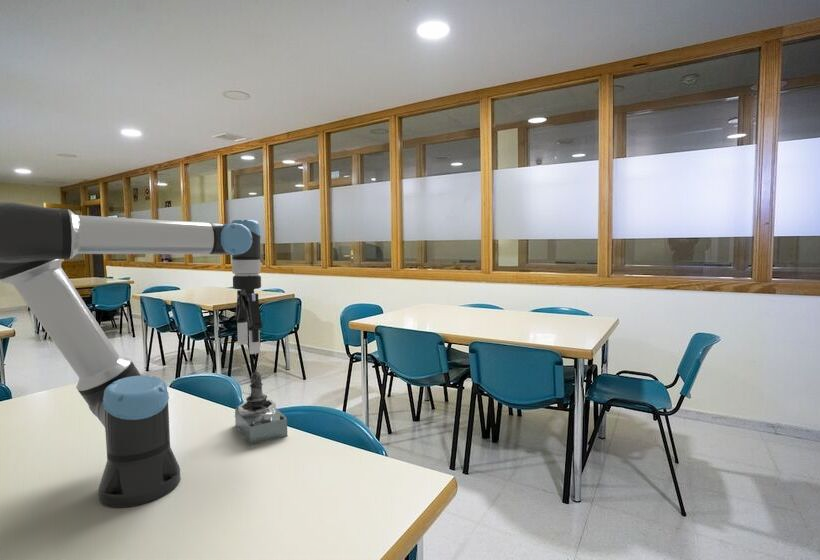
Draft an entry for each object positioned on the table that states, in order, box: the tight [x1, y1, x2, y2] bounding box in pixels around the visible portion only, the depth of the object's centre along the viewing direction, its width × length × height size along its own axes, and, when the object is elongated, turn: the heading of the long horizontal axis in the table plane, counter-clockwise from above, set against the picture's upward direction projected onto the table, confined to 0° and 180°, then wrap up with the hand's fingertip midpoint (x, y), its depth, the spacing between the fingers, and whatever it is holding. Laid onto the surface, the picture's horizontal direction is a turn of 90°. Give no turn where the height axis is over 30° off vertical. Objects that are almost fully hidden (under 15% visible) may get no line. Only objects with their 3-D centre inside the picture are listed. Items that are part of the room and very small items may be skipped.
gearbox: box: [234, 398, 288, 446], centre depth 124 cm, size 16×10×7 cm, turn 35°
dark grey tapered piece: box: [245, 369, 268, 411], centre depth 126 cm, size 6×6×12 cm
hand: (248, 348), depth 125 cm, fingers open, 13 cm apart
